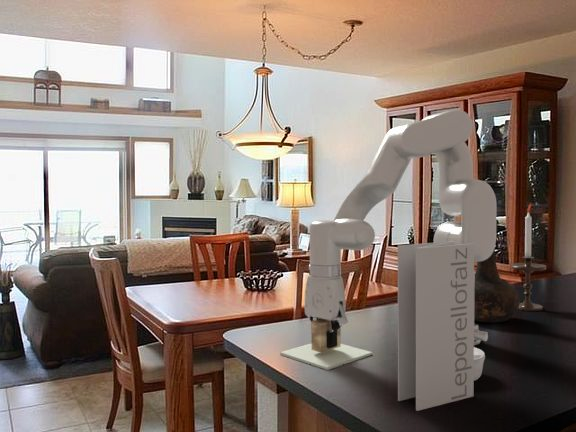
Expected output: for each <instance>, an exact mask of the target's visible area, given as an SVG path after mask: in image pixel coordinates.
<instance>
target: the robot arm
mask: <svg viewBox="0 0 576 432" xmlns="http://www.w3.org/2000/svg"><path fill="white" fill-rule="evenodd" d="M473 129H474V122H473V119H472V117H471V116H470V114H468V113H467V112H466V111H464V110H461V109H451V110H445V111H442V112H437V113H433V114H429V115H427V116H426V117H424V118H423V119H421V120H419V121H415V122H410V123H405V124H402V125H398V126H397V125H396V126H395V127H393V128H391V129H389V130H388V131H387V133H386V134H385V135H384V137H383V139H382V140H381V143H380V145H379V147H378V149H377V150H376V153H375V155H374V156H373V158H372V161H371V163H370V164H369V166H368V168H367V170H366V172H365V174H364V176H363V177H362V178H361V179H360V181H359V182H358V183H357V184H356V185H355V187H354V188H352V190H351V191H350V193H349V194H348V195H347V196H346V197H345V199H344V200H343V202H342V204H341V205H340V207H339V208H338V211H337V213H336V215H335V217H334V219H333V220H315V221H312V222H311V223H310V224H309V265H308V270H309V275H307V278H306V283H305V292H304V315H305V316H306V317H307V318H308V319H309V321H310V322H311V321H314V320H318V319H324V320H327V322H328V332H327V348H332V347H336V346H337V331H338V330H339V329H340V327H342V326H343V325H346V324H347V323H348V322H349V321H348V318H347V315H346V309H347V308H346V291H345V285H344V281H343V277H342V268H341V267H342V265H341V263H342V262H341V261H342V260H341V258H342V257H341V255H342V254H341V251H342V250H350V251H363V250H367V249H368V248H369V247H371V245H372V244H373V243H374V241H375V237H376V233H375V232H376V231H375V229H374V228H373V226H372V225H371V224H370V223H369V222H367V221H365V219H366V217H367V215H368V214H369V213H370V211H371V210H372V209H374V207H375V206H377V204H380V203H381V202H383V201H384V200H385V199H387V198H390V196H392V194H394V193H395V191H396V190H397V188H398V186H399V184H400V182H401V180H402V178H403V176H404V174H405V172H406V171H407V168H408V166H409V164H410V162H411V160H412V159H418V158H423V157H427V156H430V155H435V157H436V160H437V163H438V173H439V174H438V175H439V176H438V177H439V178H438V202H439V203H438V204H439V207H440V210H441V211H442V212H443V213H444V214H446V215H448V216H450V217H460V218H461V221H455V220H454V221H447V222H444V223H442V224H441V225H440V226H438V227H437V229H436V230H435V232H434V235H433V243H438V242H450V241H454V245H461V244H474V263H477V262H481V261H484V260H486V259H488V258H489V257H490V256H491V255H492V253H493V251H494V249H495V248H496V243H497V206H498V205H497V198H496V194H495V192H494V190H493V188H492V187H491V185H490V184H489V183H487V182H486V181H484V180H482V179H481V180H480V179H474V161H473V156H472V153H471V151H470V149H469V146H468V145H467V143H466V141H468V140H469V138H470V137H471V135H472V132H473ZM475 273H476V272H474V318H475ZM333 321H334V324H333ZM488 340H489V335H488V331H484V330H479V324H476V323H474V346H476V345H477V346H478V345H480V343H481V341H483V342H487V341H488Z"/></svg>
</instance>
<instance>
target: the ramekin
mask: <svg viewBox="0 0 576 432" xmlns="http://www.w3.org/2000/svg"><path fill="white" fill-rule="evenodd" d="M485 358H486V355H485V352H484V351H483V350H482V349H480V348H477V347H475V346H474V381H475V382H476V381H477V380H478V379H479V378H480V377H481V376H482V375H483V374H482V373H483V368H484V367H483V366H484V362H485V360H486V359H485Z"/></svg>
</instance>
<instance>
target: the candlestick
mask: <svg viewBox="0 0 576 432" xmlns="http://www.w3.org/2000/svg"><path fill="white" fill-rule="evenodd" d="M531 207H532V203H530V204H529V205H528V208H527V209H526V211H527V215H526V216H525V217H524V219H525V220H524V222H525V225H524V226H525V227H524V234H525V235H524V256H521V258H524V262H513V263H510V264H509V267H510V269H512V270H517V271H522V272H523V273H524V274H525V283H524V284H523V286H522V287H523V288H524V292H523V294H524V295H525V299H524V301H523V302H520V304H519V308H518V309H519V310H518V311H522V310H524V311H523V312H541V311H543V305H541V304H538V303H533V302H532V301H531V295H533V294H532V292H531V290H532V288H533V284H531V274H532V273H533V272H535V271H536V272H537V271H539V272H540V271H541V272H542V271H545V270H547V265H545V264H541V263H534V262H533V263H532V259H534V258H535V257H534V256H532V216H531V215H530V210H531ZM540 310H541V311H540Z"/></svg>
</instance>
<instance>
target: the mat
mask: <svg viewBox="0 0 576 432" xmlns="http://www.w3.org/2000/svg"><path fill="white" fill-rule="evenodd" d="M279 355H280V356H283V357H286V358H288V359H292V360H295V361H298V362H301V363H304V364H308V365H310V364H311V366H314V367H317V368H319V369H323V370H326V371H330V370H331V369H334V368H338V367H341V366H344V365H346V364H349V363H352V362H356V361H357V360H361V359H364V358H367V357H369V356H372V355H373V352H372V351H369V350H366V349H362V348H359V347H356V346H355V347H354V346H352V345H347V344H344V343H341V347H338V348H334V349H331V350H328V351H325V352H322V353H321V352H317V351H314V350H312V342H311V343H308V344H304V345H301V346H297V347H293V348H290V349H287V350H284V351H280V352H279ZM343 364H344V365H343Z"/></svg>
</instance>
